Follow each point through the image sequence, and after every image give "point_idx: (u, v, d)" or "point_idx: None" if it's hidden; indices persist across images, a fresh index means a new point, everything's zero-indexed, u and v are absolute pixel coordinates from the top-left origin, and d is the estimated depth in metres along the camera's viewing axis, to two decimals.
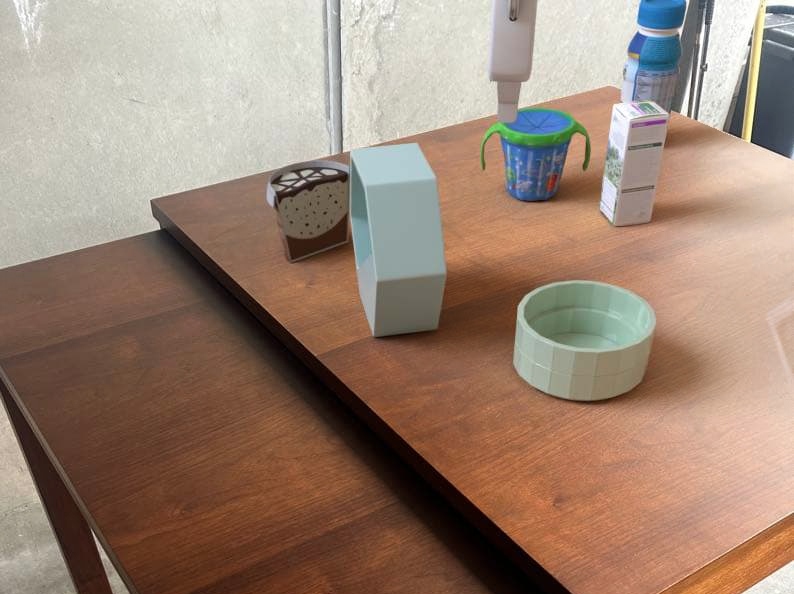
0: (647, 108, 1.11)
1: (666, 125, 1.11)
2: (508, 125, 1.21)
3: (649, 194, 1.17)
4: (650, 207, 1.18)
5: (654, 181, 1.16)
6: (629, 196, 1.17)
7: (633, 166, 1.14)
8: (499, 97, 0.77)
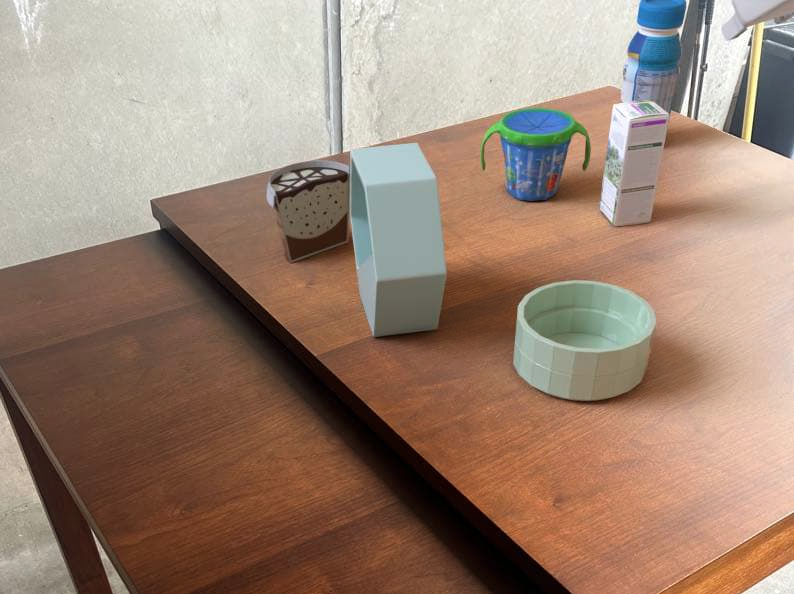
0: (647, 108, 1.11)
1: (666, 125, 1.11)
2: (508, 125, 1.21)
3: (649, 194, 1.17)
4: (650, 207, 1.18)
5: (654, 181, 1.16)
6: (628, 196, 1.17)
7: (633, 166, 1.14)
8: None
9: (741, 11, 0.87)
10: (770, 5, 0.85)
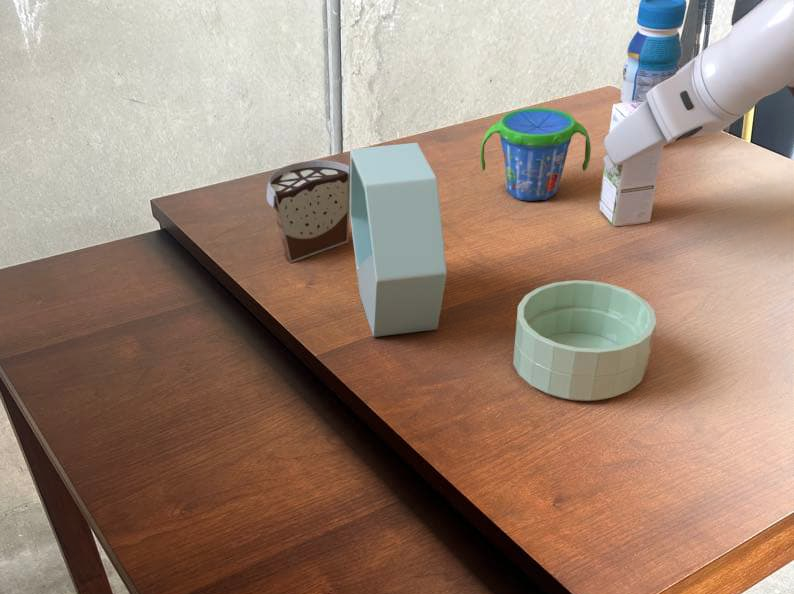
0: None
1: None
2: (508, 125, 1.21)
3: (649, 194, 1.17)
4: (650, 207, 1.18)
5: (654, 181, 1.16)
6: (628, 196, 1.17)
7: (633, 166, 1.14)
8: None
9: (611, 155, 1.06)
10: (631, 152, 1.04)
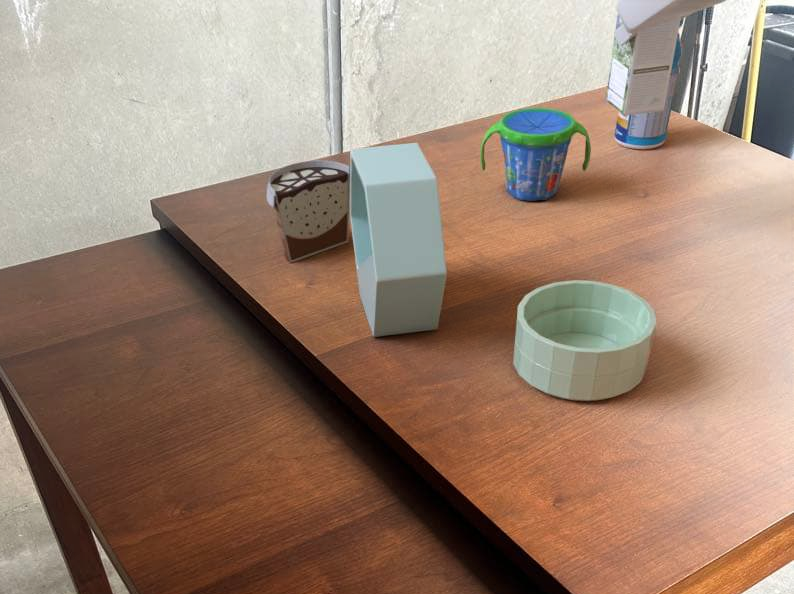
0: None
1: None
2: (508, 125, 1.21)
3: (663, 76, 1.05)
4: (664, 92, 1.06)
5: (669, 60, 1.04)
6: (641, 78, 1.04)
7: (647, 41, 1.01)
8: (686, 15, 1.04)
9: (625, 19, 0.94)
10: (650, 13, 0.92)
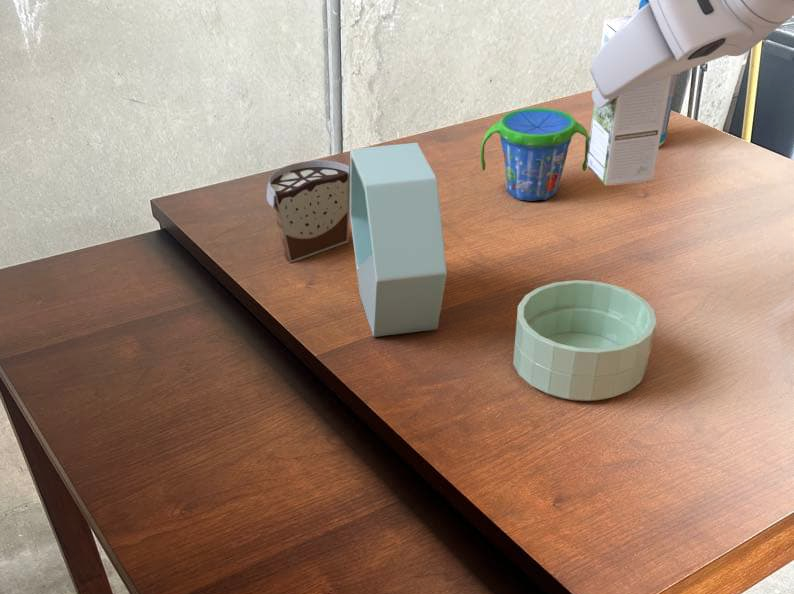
0: None
1: None
2: (508, 125, 1.21)
3: (651, 142, 0.89)
4: (653, 160, 0.90)
5: (658, 124, 0.88)
6: (624, 144, 0.89)
7: (630, 103, 0.86)
8: None
9: (600, 83, 0.79)
10: (628, 77, 0.76)
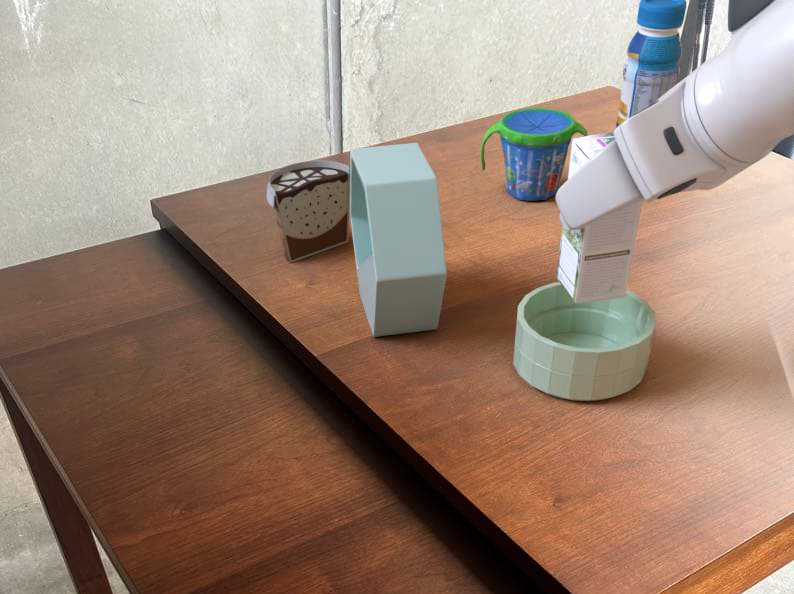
0: None
1: None
2: (508, 125, 1.21)
3: (623, 261, 0.85)
4: (625, 278, 0.86)
5: (630, 244, 0.84)
6: (595, 264, 0.84)
7: (600, 225, 0.81)
8: None
9: (565, 215, 0.74)
10: (594, 213, 0.72)
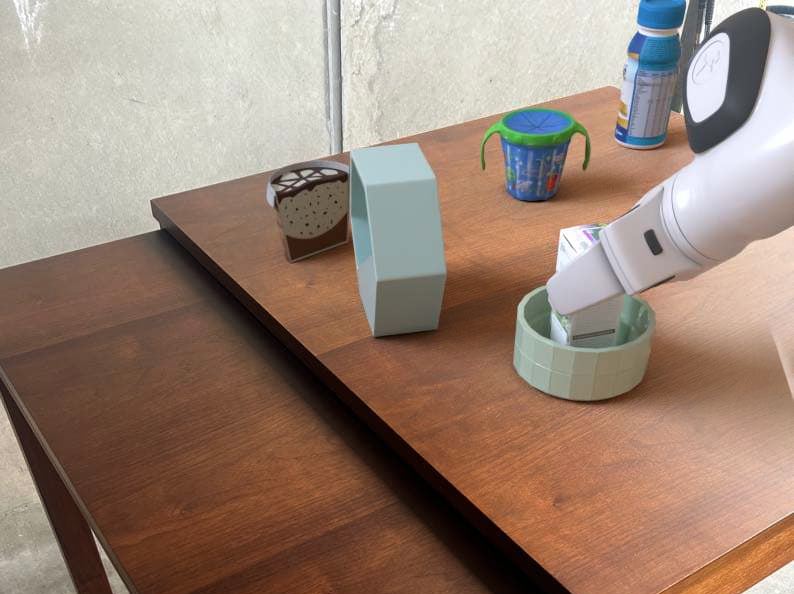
0: None
1: None
2: (508, 125, 1.21)
3: (609, 339, 0.91)
4: None
5: (615, 324, 0.90)
6: (582, 343, 0.91)
7: None
8: None
9: (555, 303, 0.80)
10: (582, 304, 0.78)
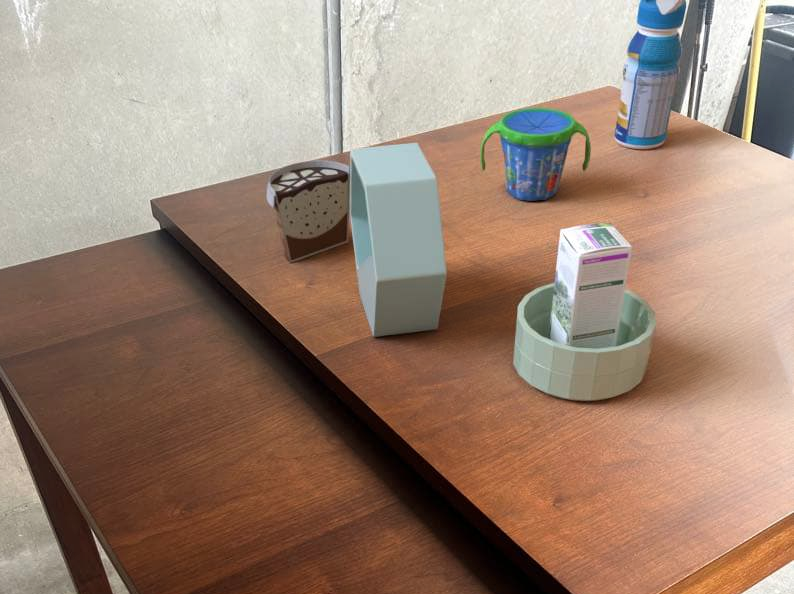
0: (603, 237, 0.85)
1: (628, 260, 0.85)
2: (508, 125, 1.21)
3: (609, 339, 0.91)
4: None
5: (615, 324, 0.90)
6: (582, 343, 0.91)
7: (586, 308, 0.88)
8: None
9: None
10: None
